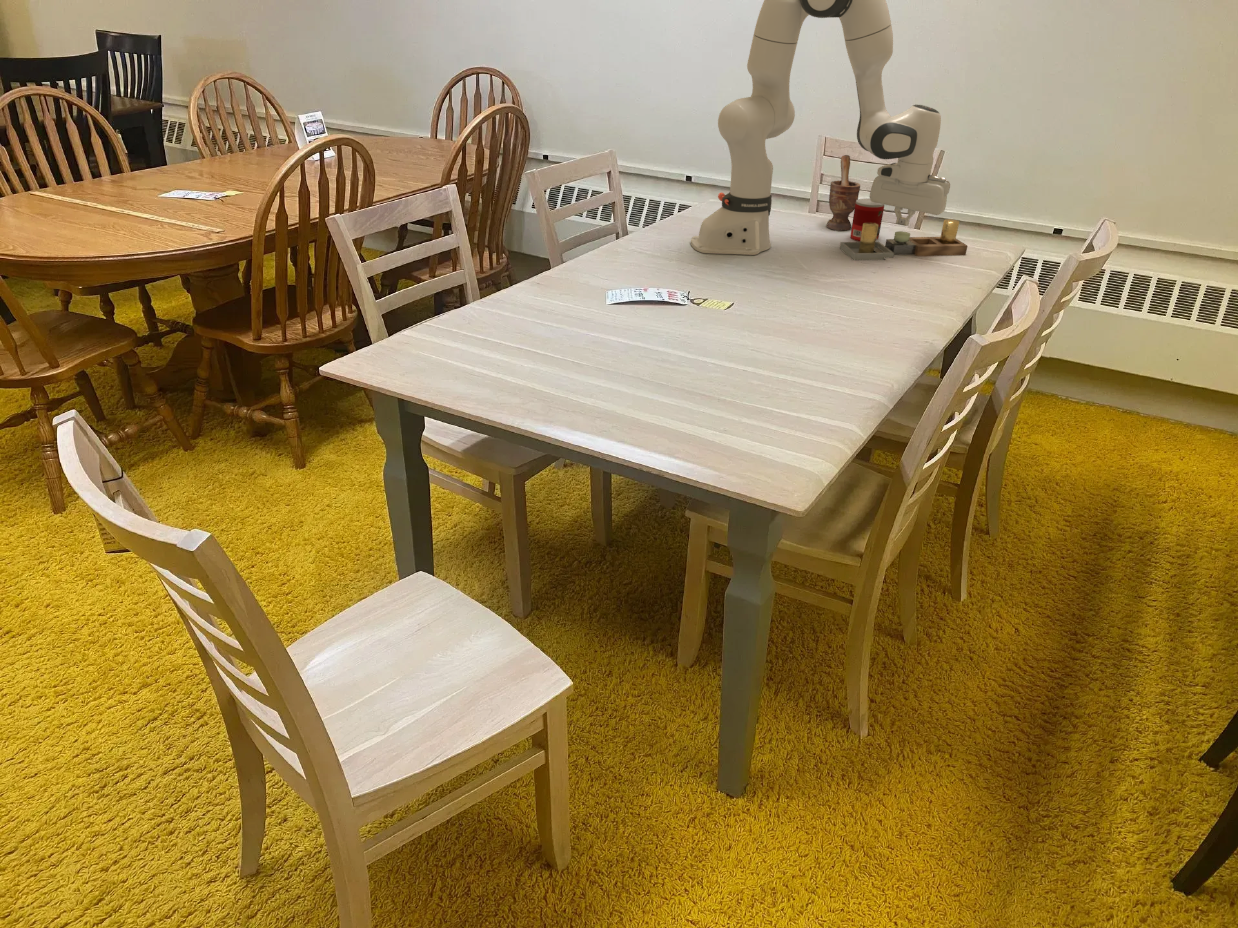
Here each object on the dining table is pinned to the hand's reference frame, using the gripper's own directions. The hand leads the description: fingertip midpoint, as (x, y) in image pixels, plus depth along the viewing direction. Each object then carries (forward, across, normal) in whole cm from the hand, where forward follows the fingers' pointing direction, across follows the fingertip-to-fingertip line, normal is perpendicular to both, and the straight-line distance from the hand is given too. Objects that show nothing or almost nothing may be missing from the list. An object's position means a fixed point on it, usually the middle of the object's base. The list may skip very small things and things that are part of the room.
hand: (902, 224), depth 226 cm
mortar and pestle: (+9, +26, -15) cm, 31 cm away
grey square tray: (+8, +6, +7) cm, 12 cm away
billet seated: (+7, -10, -9) cm, 15 cm away
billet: (+8, +6, +7) cm, 12 cm away
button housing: (+8, -1, 0) cm, 8 cm away
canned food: (+9, +13, -6) cm, 17 cm away
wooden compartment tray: (+8, -8, -7) cm, 13 cm away
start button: (+7, -1, 0) cm, 7 cm away
